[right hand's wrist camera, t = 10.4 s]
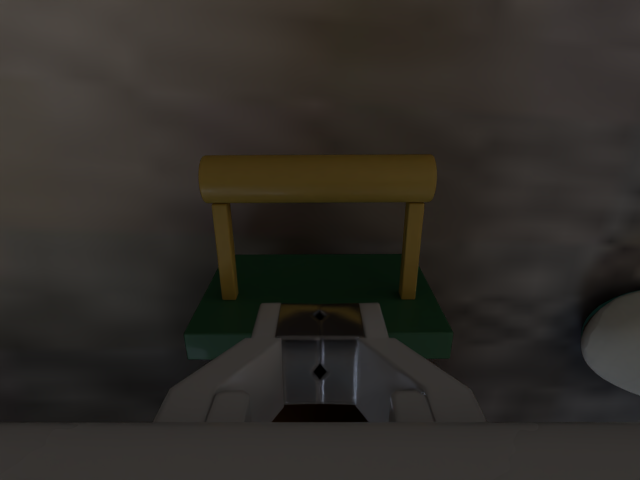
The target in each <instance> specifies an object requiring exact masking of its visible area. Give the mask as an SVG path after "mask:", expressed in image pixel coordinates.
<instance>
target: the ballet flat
mask: <svg viewBox="0 0 640 480" xmlns="http://www.w3.org/2000/svg"><path fill="white" fill-rule="evenodd" d="M581 352H582V355H583V358H584V360H585V361H586V363H587V365H588V366H589V367H590V368H591V369H592V370H593V371H594V372H595V373H596V374H598V375H599V376H600V377H601V378H603V379H604V380H606V381H608V382H610V383H612V384H614V385H616V386H618V387H620V388H622V389H624V390H627V391H629V392H631V393H634V394H637V395H640V290H638V291H634V292H629V293H626V294H623V295H620V296H617V297H615V298H613V299H610V300H608V301H606V302H605V303H603V304H601V305H600V306H598V307H597V308H596V309H595V310H594V311H592V312H591V314H590V315H589V316H588V317H587V319H586V320H585V322H584V324H583V327H582V332H581Z"/></svg>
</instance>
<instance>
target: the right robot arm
mask: <svg viewBox="0 0 640 480" xmlns="http://www.w3.org/2000/svg"><path fill="white" fill-rule="evenodd" d="M294 404H346V405H356V407H357V408H358V409H359V411H360V412H361V413H362V414H363V416H364V417H365V418H366V419H367V421H368V422H272V421H273V420H274V418H275V417H276V416H277V415H278V414H279V412H280V411H281V410H282V409H283V407H284V405H294ZM0 480H640V422H487V421H486V419H485V417H484V415H483V413H482V411H481V409H480V407H479V405H478V403H477V401H476V399H475V397H474V395H473V393H472V391H471V389H470V388H468V387H467V386H465V385H464V384H462V383H461V382H459V381H458V380H456V379H455V378H453V377H452V376H450V375H449V374H447V373H446V372H444V371H443V370H441V369H440V368H438V367H437V366H435V365H434V364H432V363H431V362H430V361H428V360H427V359H425V358H424V357H422V356H421V355H419V354H418V353H416V352H415V351H413V350H412V349H410V348H409V347H407V346H406V345H404V344H403V343H401V342H400V341H398V340H397V339H395V338H389V336H388V332H387V329H386V325H385V322H384V318H383V315H382V311H381V308H380V304H379V303H338V304H310V303H282V304H281V303H262V304H261V305H260V307H259V311H258V314H257V318H256V321H255V325H254V329H253V332H252V336H251V338H245V339H243V340H242V341H240V342H239V343H237V344H236V345H234V346H233V347H231V348H230V349H228V350H227V351H225V352H224V353H222V354H221V355H219V356H218V357H216V358H215V359H213V360H212V361H210V362H209V363H207V364H206V365H204V366H203V367H201V368H200V369H198V370H197V371H195V372H194V373H192V374H191V375H189V376H188V377H187V378H185V379H184V380H182V381H181V382H179V383H178V384H176V385H175V386H173V387H172V388H170V389H169V391H168V393H167V395H166V397H165V399H164V401H163V403H162V405H161V407H160V409H159V411H158V413H157V415H156V417H155V419H154V421H153V422H0Z"/></svg>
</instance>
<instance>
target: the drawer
mask: <svg viewBox="0 0 640 480" xmlns="http://www.w3.org/2000/svg"><path fill="white" fill-rule="evenodd" d="M436 183H437V168H436V162H435V159H434V157H433V155H431V154H388V155H205V156H203V157H202V158H201V161H200V164H199V188H200V193H201V196H202V199H203V200H204V202H206V203H213V204H212V213H213V222H214V231H215V239H216V248H217V257H218V266H219V267H218V269H217V271H216V273H215V275H214V277H213V279H212V281H211V283H210V285H209V286H208V288H207V290H206V292H205V294H204V296H203V298H202V300H201V302H200V304H199V306H198V307H197V309H196V311H195V313H194V315H193V317H192V319H191V321H190V323H189V325H188V326H187V328H186V330H185V332H184V340H185V346H186V352H187V358H188V359H189V360H211V359H215V358H216V357H218V356H219V355H221V354H222V353H224V352H225V351H227V350H228V349H230V348H231V347H233V346H234V345H236V344H237V343H239V342H240V341H242V340H243V339H245V338H251V336H252V332H253V329H254V325H255V321H256V318H257V314H258V311H259V307H260V305H261V304H262V303H281V304H282V303H310V304H338V303H379V304H380V308H381V311H382V315H383V318H384V322H385V325H386V329H387V332H388V336H389V338H395V339H397V340H398V341H400V342H401V343H403V344H404V345H406V346H407V347H409V348H410V349H412V350H413V351H415V352H416V353H418V354H419V355H421V356H422V357H424V358H425V359H448V358H450V353H451V346H452V339H453V331H452V329H451V327H450V325H449V323H448V321H447V320H446V318H445V316H444V314H443V312H442V310H441V308H440V306H439V304H438V302H437V300H436V298H435V296H434V294H433V292H432V291H431V289H430V287H429V285H428V283H427V281H426V279H425V277H424V275H423V273H422V271H421V269H420V267H419V265H418V264H419V254H420V244H421V234H422V224H423V214H424V203H423V202H430V201H431V200H432V199H433V197H434V194H435V190H436ZM343 202H406V208H405V220H404V233H403V245H402V254H307V255H235V251H234V241H233V230H232V219H231V209H230V203H343ZM272 422H368V421H367V419H366V418H365V417H364V416H363V414H362V413H361V412H360V411H359V409H358V408H357V407H356V405H346V404H294V405H284V407H283V409H282V410H281V411H280V412H279V414H278V415H277V416H276V417H275V418H274V420H273V421H272Z"/></svg>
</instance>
